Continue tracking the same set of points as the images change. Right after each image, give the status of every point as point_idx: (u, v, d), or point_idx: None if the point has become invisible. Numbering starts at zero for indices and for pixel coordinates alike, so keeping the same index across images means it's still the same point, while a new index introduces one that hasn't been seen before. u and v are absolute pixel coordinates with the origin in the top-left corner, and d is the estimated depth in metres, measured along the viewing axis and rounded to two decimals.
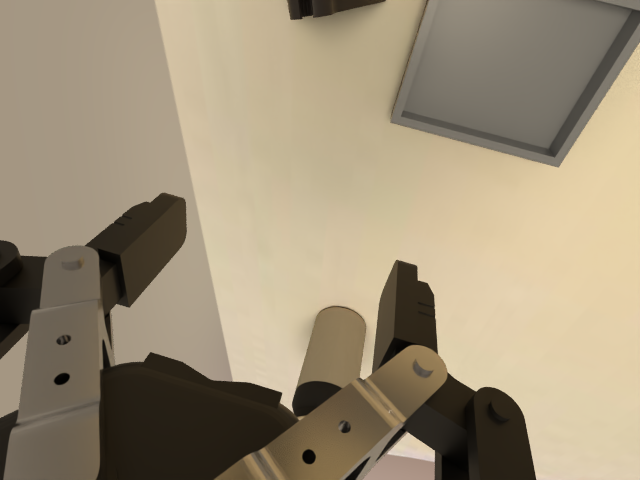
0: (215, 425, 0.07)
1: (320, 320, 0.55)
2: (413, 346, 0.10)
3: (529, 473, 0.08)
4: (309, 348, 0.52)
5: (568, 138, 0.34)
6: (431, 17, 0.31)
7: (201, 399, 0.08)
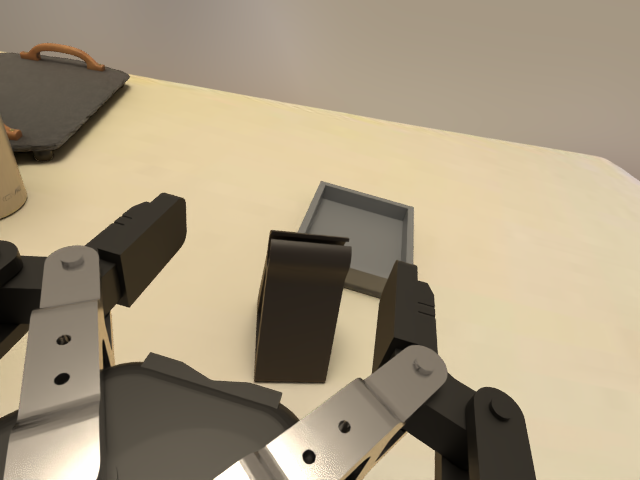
0: (215, 425, 0.07)
1: None
2: (413, 346, 0.10)
3: (529, 474, 0.08)
4: None
5: (394, 204, 0.52)
6: None
7: (201, 399, 0.08)
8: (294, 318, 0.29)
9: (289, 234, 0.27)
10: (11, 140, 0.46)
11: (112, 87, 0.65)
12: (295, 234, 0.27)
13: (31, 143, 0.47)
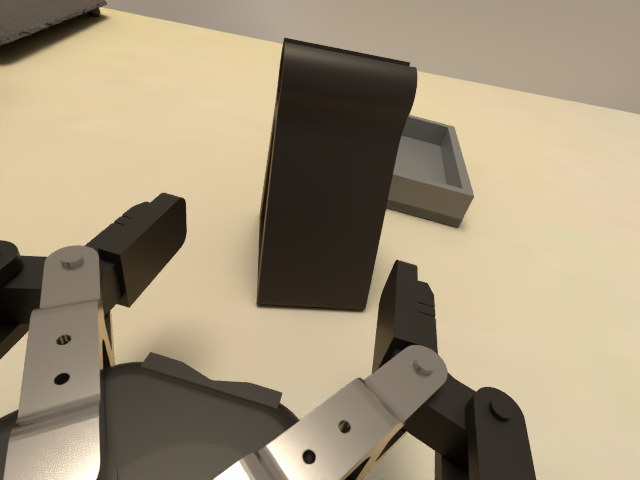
0: (215, 425, 0.07)
1: None
2: (413, 346, 0.10)
3: (529, 473, 0.08)
4: None
5: (430, 122, 0.41)
6: None
7: (201, 399, 0.08)
8: (321, 196, 0.18)
9: (314, 46, 0.17)
10: None
11: (84, 6, 0.55)
12: (324, 47, 0.17)
13: None
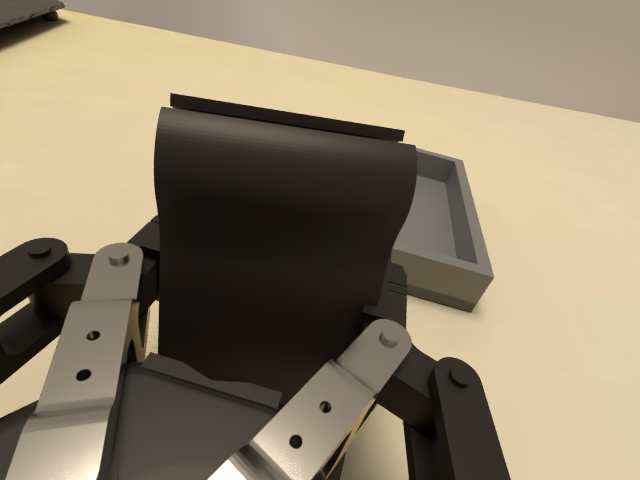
0: (215, 425, 0.07)
1: None
2: (380, 320, 0.10)
3: (491, 432, 0.08)
4: None
5: (434, 155, 0.34)
6: None
7: (201, 399, 0.08)
8: (252, 355, 0.11)
9: (229, 108, 0.09)
10: None
11: (32, 10, 0.47)
12: (247, 109, 0.09)
13: None
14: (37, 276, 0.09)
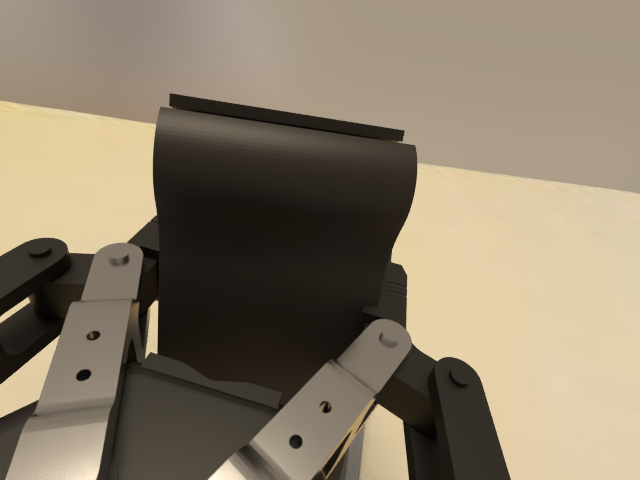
0: (215, 425, 0.07)
1: None
2: (380, 320, 0.10)
3: (491, 432, 0.08)
4: None
5: None
6: None
7: (201, 399, 0.08)
8: (251, 356, 0.11)
9: (228, 108, 0.09)
10: None
11: None
12: (246, 109, 0.09)
13: None
14: (37, 276, 0.09)
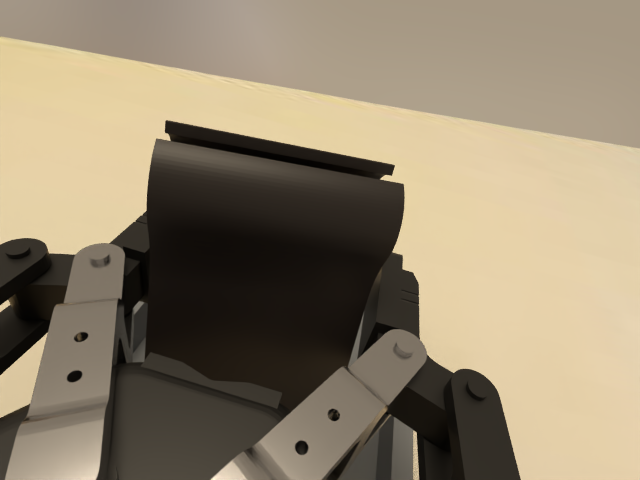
0: (215, 425, 0.07)
1: None
2: (394, 330, 0.10)
3: (507, 448, 0.08)
4: None
5: None
6: None
7: (201, 399, 0.08)
8: (235, 372, 0.11)
9: (223, 137, 0.09)
10: None
11: None
12: (241, 138, 0.09)
13: None
14: (17, 277, 0.09)
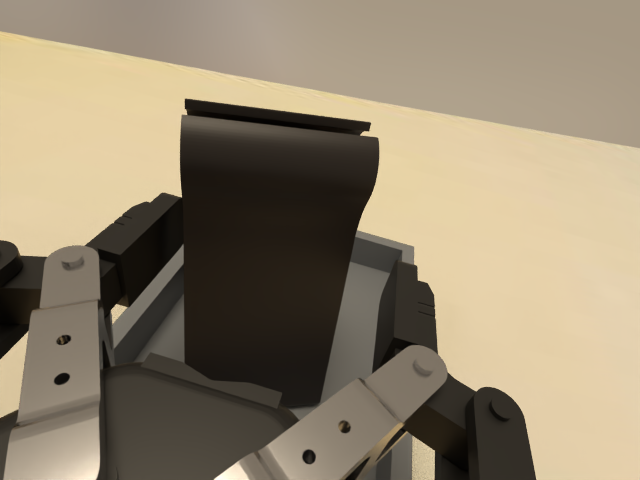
0: (215, 425, 0.07)
1: None
2: (413, 346, 0.10)
3: (529, 473, 0.08)
4: None
5: (375, 241, 0.25)
6: None
7: (201, 399, 0.08)
8: (255, 299, 0.14)
9: (231, 109, 0.11)
10: None
11: None
12: (246, 109, 0.12)
13: None
14: None
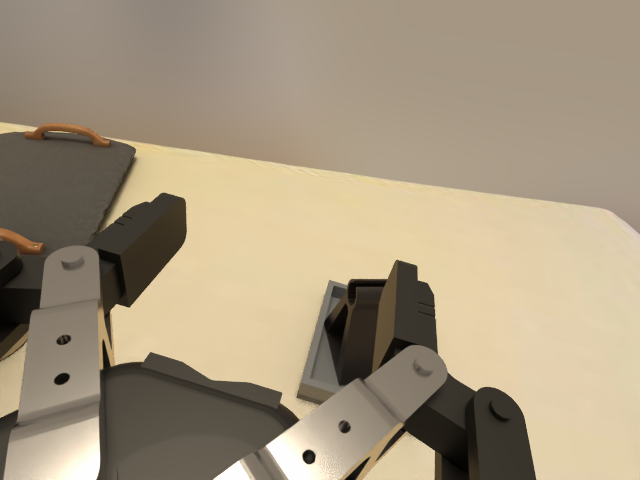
0: (215, 425, 0.07)
1: None
2: (413, 346, 0.10)
3: (529, 474, 0.08)
4: None
5: None
6: None
7: (201, 399, 0.08)
8: (368, 338, 0.41)
9: (365, 281, 0.39)
10: (35, 255, 0.46)
11: (122, 168, 0.65)
12: (369, 281, 0.39)
13: None
14: None
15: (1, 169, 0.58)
